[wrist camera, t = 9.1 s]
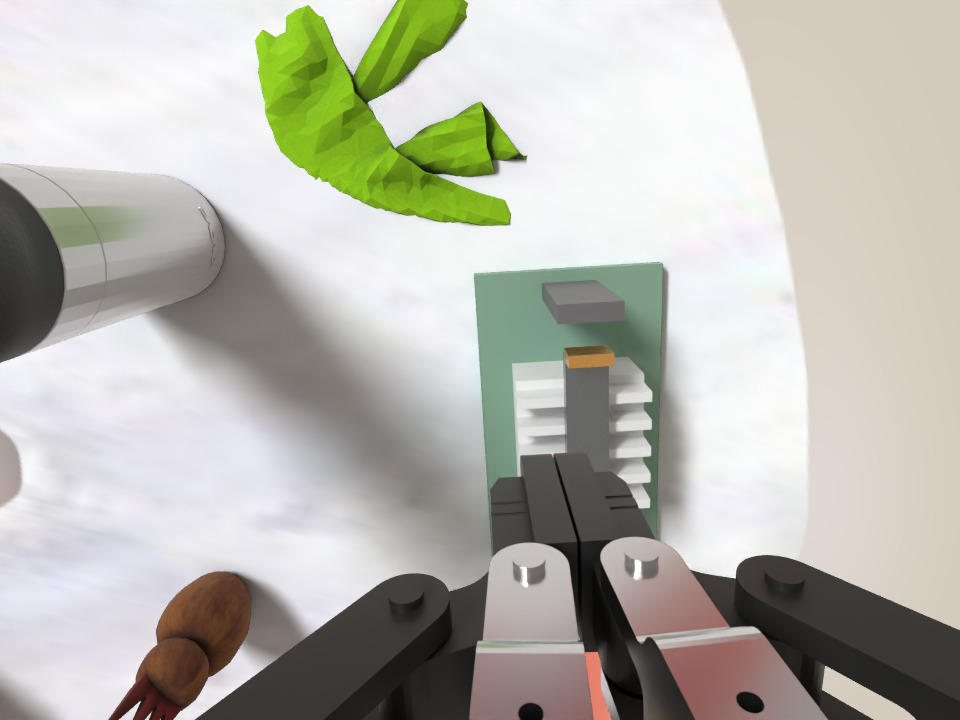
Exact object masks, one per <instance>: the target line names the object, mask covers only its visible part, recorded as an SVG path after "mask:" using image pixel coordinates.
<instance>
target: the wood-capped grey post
mask: <svg viewBox="0 0 960 720" xmlns="http://www.w3.org/2000/svg"><path fill="white" fill-rule="evenodd" d="M609 366H614V352H613V351H612V350H611V349H610V348H609V346H608V345H601V346H585V347H568V348H564V352H563V377H564V421H565V453H569V452H586V453H587V456H588V458H589V460H590V463H591V465H592V467H593V470H594V472H608V471H609Z"/></svg>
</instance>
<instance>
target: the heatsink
mask: <svg viewBox="0 0 960 720" xmlns="http://www.w3.org/2000/svg"><path fill="white" fill-rule="evenodd" d="M662 281H663V263H660V262H653V263H636V264H620V265H604V266H588V267H572V268H556V269H540V270H524V271H507V272H491V273H475V274H474V282H475V297H476V313H477V328H478V344H479V359H480V375H481V390H482V406H483V421H484V437H485V452H486V468H487V483H488V499H489V514H490V530H491V545H492V558H493V541H492V518H491V496H490V489H491V488H492V487H493V485H494V484H495V483H496V481H497V480H498V478H505V477H521V474H520V455H536V454H552V456H553V454H554V453H565V421H564V377H563V352H564V348H568V347H585V346H601V345H608V346H609V348H610V349H611V350H612V351H613V352H614V366H609V471H611V472H613V473H614V474H615V475H617V476H618V477H620V478H621V479H623V480H624V481H625V482H626V483H627V485H628V487H629V489H630V491H631V493H632V494H633V497H634V498H635V500H636V502H637V504H638V508H640V510H641V512H642V514H643V516H644V518H645V519H646V521H647V523H648V525H649V527H650V529H651V531H652V533H653V535H654V537H655V539H656V519H657V479H658V439H659V400H660V360H661V320H662Z"/></svg>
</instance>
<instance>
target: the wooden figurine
mask: <svg viewBox="0 0 960 720" xmlns="http://www.w3.org/2000/svg"><path fill="white" fill-rule="evenodd" d="M250 615H251V611H250V596H249V592H248V590H247V588H246V587H245V585H244V583H243V582H242V581H241V580H240V579H239V578H238V577H237V576H235V575H233V574H231V573H228V572H218V571H217V572H213V573H208V574H206V575H203V576H201V577H200V578H198V579H197V580H195V581H194V582H192V583H190V584H189V585H187V586H186V587H184V588H183V589H182V590H181V591H180V592H179V593H178V594H177V595H176V596H175V597H174V598H173V599H172V600H171V602H170V603H169V604H168V606H167V607H166V609H165V610H164V612H163V614H162V616H161V618H160V620H159V622H158V626H157V629H156V635H157V644H158V645H156V646H155V647H154V648H153V649H152V650H151V651H150V652H149V653H148V654H147V655H146V657H145V658H144V660H143V661H142V663H141V665H140V667H139V669H138V672H137V675H136V683H135V684H134V685H133V686H132V688H131V689H130V690H129V692H128V693H127V694H126V696H125V697H124V699H123V700H122V701H121V703H120V704H119V706H118V707H117V708H116V710H115V711H114V713H113V714H112V715H111V717H110V718H109V720H119V719H120V718H121V717H122V716H123V715H125V714H126V713H127V712H128V711H129V710H130V709H131V708H133V707H134V706H135V705H136V704H137V703H138V702H140V701H141V703H140V705H139V707H138V709H137V711H136V714H135V716H134V718H133V720H145V719H146V718H147V716H148V715H149V714H150V713H151V712H152V713H151V716H150V718H149V720H160V719H161V720H173V719H174V718H175V717H176V716H177V714H178V713H179V712H180V711H182V710H183V709H185V708H186V707H187V706H189V705H190V704H191V703H192V702H193V701H195V700H196V698H197V697H198V695H199V694H200V692H201V691H202V689H203V687H204V685H205V683H206V681H207V679H208V677H210V676H213V675H214V674H216V673H217V672H219V671H220V670H221V669H223V668H224V667H225V666H226V665H228V664H229V663H230V662H231V660H232V659H233V657H234V656H235V654H236V653H237V651H238V649H239V648H240V646H241V645H242V643H243V641H244V639H245V637H246V635H247V633H248V629H249V625H250Z"/></svg>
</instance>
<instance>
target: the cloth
mask: <svg viewBox="0 0 960 720" xmlns="http://www.w3.org/2000/svg"><path fill="white" fill-rule="evenodd" d="M467 6H468V3H467V2H466V1H464V0H397V2H396V4H395V5H394V7H393V8H392V10H391V12H390V13H389V15H388V16H387V18H386V20H385V21H384V23H383V25H382V26H381V28H380V29H379V31H378V33H377V34H376V36H375V38H374V39H373V41H372V43H371V44H370V46H369V48H368V49H367V51H366V53H365V55H364V56H363V58H362V60H361V62H360V63H359V66H358V68H357V70H356V72H355V74H354V76H353V78H351V76H350V74H349V72H348V70H347V68H346V65H345V63H344V61H343V60H342V58H341V57H340V55H339V54H338V52H337V50H336V48H335V46H334V44H333V41H332V38H331V35H330V33H329V31H328V28H327V26H326V24H325V21H324V18H323V17H320V16H318V15H317V14H316V13H315V12H314V11H313V10H312V9H311V7H310V6H309V5H308V6H305V7H303V8H300V9H297V10H295V11H294V12H292V13H291V14H290V15H288V16H287V17H286V32H285V33H283V34H281V35H279V36H277V37H274V36H273V35H271V34H269V33H268V32H266V31H264V30H262V31H261V32H260V34H259V35H258V37H257V38H256V40H255V42H256V47H257V54H258V59H259V71H258V73H259V78H260V82H261V88H262V94H263V97H264V100H265V113H266V116H267V119H268V122H269V125H270V127H271V129H272V131H273V134H274V138H275V141H276V143H277V144H278V146H279V148H280V151H281V152H282V153H283V154H284V155H285V156H286V157H288V158H289V159H290V160H291V161H292V162H293V163H294V164H295V165H296V166H298V167H300V168H304V169H305V170H306V171H307V172H308V174H309V175H312V176H313V177H314V178H315V179H316V180H317V179H318V178H319V177H320V178H321V180H322V181H323V182H329V183H330V184H331V186H332V187H335V188H336V189H337V190H339V191H342V193H345V194H348V195H350V196H351V197H352V198H354V199H358V200H360V201H361V202H363V203H366V204H368V205H370V206H372V207H374V208H382V209H384V210H385V211H390V210H391V211H394V212H396V213H401V214H404V215H407V216H409V215H416V216H418V217H426V218H428V219H433V220H437V221H440V222H452V223H454V222H462V223H465V222H470V223H473V224H478V225H483V226H493V225H508V224H509V220H510V216H511V213H510V211H509V208H508V206H507V204H506V202H505V200H502V199H499V198H495V197H491V196H488V195H484V194H481V193H478V192H475V191H472V190H470V189H467V188H465V187H462V186H459V185H457V184H455V183H453V182H450V181H448V180H446V179H443V178H441V177H438V176H436V175H434V174H448V175H454V176H463V177H474V176H481V175H489V174H495V171H494V168H493V165H492V162H491V161H492V160H493V159H495V158H496V159H498V160H504V161H505V160H508V159H525V158H526V157H527V156H523V155H522V154H520V153H519V152H518V151H517V150H516V148H515V147H514V146H513V144H512V143H511V141H510V140H509V138H508V137H507V135H506V134H505V133H504V132H503V130H502V129H501V128H500V127H499V125H498V124H497V122H496V120H495V119H494V117H493V116H492V115H491V114H490V112H489V111H488V110H487V109H486V108H485V106H484V105H483V103H482V102H478V103H476V104H474V105H472V106H470V107H469V108H467V109H466V110H464V111H462V112H461V113H459V114H458V115H457V116H455V117H454V118H451V119H448V120H444V121H441V122H438V123H435V124H433V125H430V126H428V127H426V128H424V129H423V130H421V131H419V132H418V133H417V134H416V135H415V136H414V137H413V138H412V139H411V140H409V141H407V142H405V143H403V144H402V145H400V146H398V147H397V148H396V149H394V148H393V147H392V146H393V145H392V144H391V142H390V140H389V138H388V137H387V135H386V133H385V131H384V129H383V127H382V125H381V124H380V123H379V122H378V121H377V120H376V118H375V117H374V115H373V113H372V111H371V109H370V108H369V107H368V106H367V105H366V104H367V102H369V101H371V100H373V99H375V98H377V97H379V96H381V95H383V94H384V93H386V92H388V91H389V90H391V89H392V88H394V87H395V86H396V85H397V84H398V83H399V82H400V81H401V80H402V78H403V77H404V76H405V75H406V74H407V73H409V72H411V71H412V70H414V68H415V67H416V66H417V65H418V63H419V62H420V61H421V59H423V58H426V57H428V56H430V55H432V54H434V53H436V52H438V51H440V50H441V48H442V47H443V45H444V44H445V43H446V41H447V40H448V39H449V37H450V36H451V35H452V34H453V32H454V31H455V30H456V29H457V28H458V26H459V24H460V23H462V22H463V21H464V20H465V19H466V18H467V16H466V8H467Z"/></svg>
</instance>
